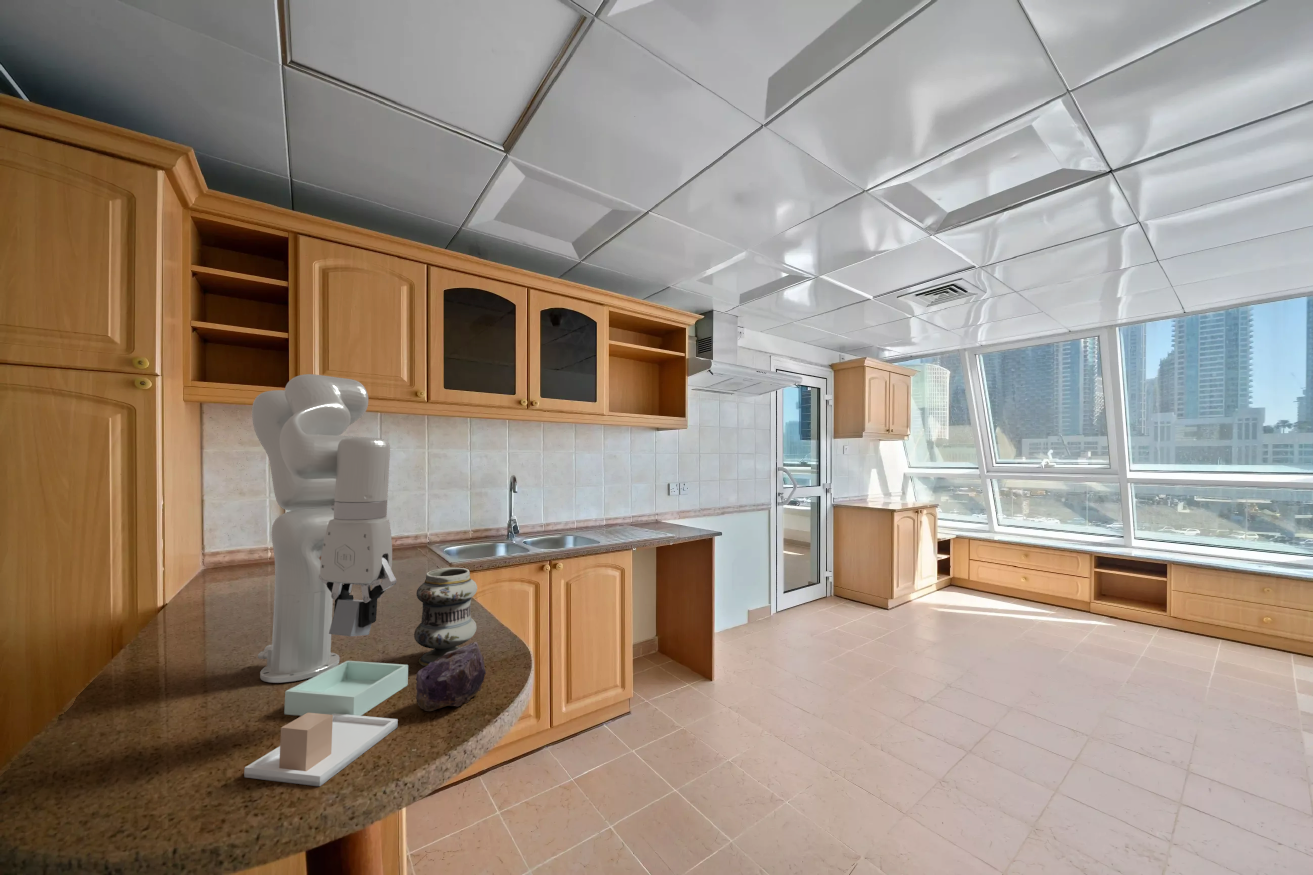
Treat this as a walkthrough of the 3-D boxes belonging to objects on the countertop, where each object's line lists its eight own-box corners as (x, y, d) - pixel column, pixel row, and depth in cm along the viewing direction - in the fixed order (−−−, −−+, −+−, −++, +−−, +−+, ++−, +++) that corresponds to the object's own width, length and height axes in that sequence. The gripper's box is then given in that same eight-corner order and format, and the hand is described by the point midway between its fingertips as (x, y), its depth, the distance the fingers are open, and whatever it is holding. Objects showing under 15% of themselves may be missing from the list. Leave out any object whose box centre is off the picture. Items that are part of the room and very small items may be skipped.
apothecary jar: (447, 673, 93) (449, 579, 95) (399, 665, 97) (402, 575, 98) (487, 651, 105) (489, 567, 106) (443, 644, 109) (445, 564, 110)
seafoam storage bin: (284, 713, 78) (285, 691, 78) (346, 680, 91) (347, 660, 91) (353, 720, 76) (354, 696, 76) (407, 684, 89) (408, 664, 89)
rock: (411, 712, 81) (445, 729, 75) (404, 663, 81) (438, 676, 75) (472, 677, 91) (507, 689, 85) (466, 632, 90) (500, 642, 84)
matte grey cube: (328, 633, 77) (338, 599, 78) (348, 632, 80) (356, 599, 82) (350, 636, 76) (359, 601, 77) (368, 634, 80) (377, 601, 81)
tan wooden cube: (279, 768, 63) (281, 727, 63) (306, 751, 67) (307, 712, 67) (305, 771, 62) (307, 730, 63) (331, 753, 66) (332, 714, 67)
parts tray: (244, 777, 62) (244, 767, 62) (333, 721, 76) (333, 713, 76) (319, 786, 60) (320, 776, 60) (397, 727, 74) (397, 719, 74)
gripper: (298, 511, 78) (291, 626, 77) (388, 517, 75) (382, 636, 74) (337, 506, 85) (331, 611, 84) (420, 511, 82) (415, 620, 81)
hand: (355, 622), depth 79 cm, fingers closed on matte grey cube, 3 cm apart
